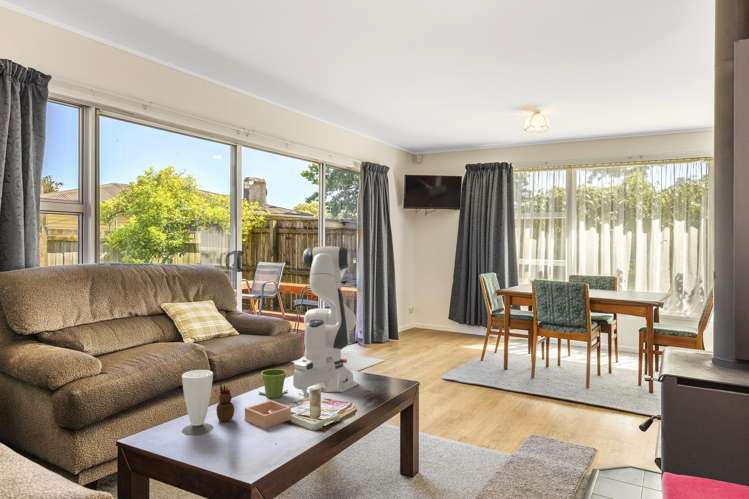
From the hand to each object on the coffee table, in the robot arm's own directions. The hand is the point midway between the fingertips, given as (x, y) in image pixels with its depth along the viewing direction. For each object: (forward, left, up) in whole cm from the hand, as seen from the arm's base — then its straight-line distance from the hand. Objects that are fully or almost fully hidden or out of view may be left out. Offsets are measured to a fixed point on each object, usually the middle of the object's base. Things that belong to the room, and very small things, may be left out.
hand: (315, 394), depth 201 cm
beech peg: (0, 0, -10) cm, 10 cm away
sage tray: (0, 0, -11) cm, 11 cm away
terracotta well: (+12, -15, -11) cm, 22 cm away
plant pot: (-8, -37, -11) cm, 39 cm away
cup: (+36, -27, -11) cm, 46 cm away
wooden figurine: (+24, -27, -11) cm, 38 cm away
